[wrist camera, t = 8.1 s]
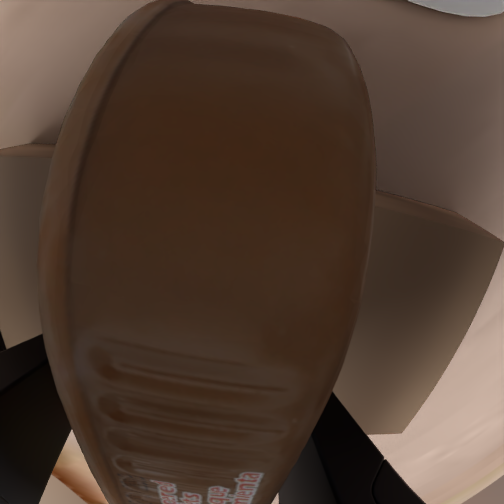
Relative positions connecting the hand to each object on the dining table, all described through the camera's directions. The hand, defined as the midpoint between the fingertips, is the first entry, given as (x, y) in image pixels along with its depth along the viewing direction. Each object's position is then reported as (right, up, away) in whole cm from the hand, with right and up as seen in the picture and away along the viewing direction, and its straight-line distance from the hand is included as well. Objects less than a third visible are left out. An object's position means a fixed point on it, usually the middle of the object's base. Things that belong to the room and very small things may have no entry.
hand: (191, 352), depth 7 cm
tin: (+1, +1, +4) cm, 4 cm away
